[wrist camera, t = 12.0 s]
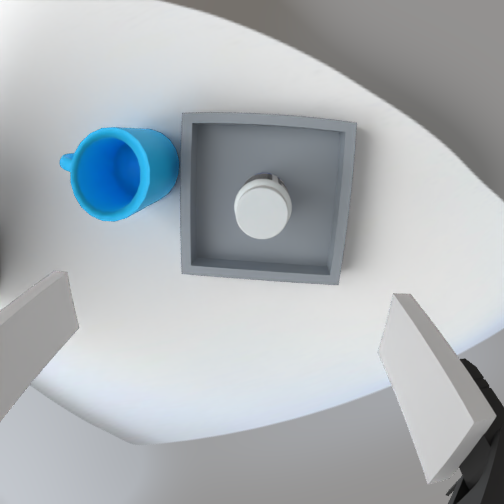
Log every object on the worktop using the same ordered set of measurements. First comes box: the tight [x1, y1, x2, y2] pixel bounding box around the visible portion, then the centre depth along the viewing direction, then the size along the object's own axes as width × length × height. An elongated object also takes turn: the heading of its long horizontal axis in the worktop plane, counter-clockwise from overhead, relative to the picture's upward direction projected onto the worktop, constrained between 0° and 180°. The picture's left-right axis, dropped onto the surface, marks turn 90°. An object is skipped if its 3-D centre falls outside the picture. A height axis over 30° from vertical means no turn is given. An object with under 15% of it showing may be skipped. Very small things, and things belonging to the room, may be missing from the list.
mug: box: [60, 127, 179, 222], centre depth 28 cm, size 12×8×8 cm
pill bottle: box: [234, 173, 292, 239], centre depth 28 cm, size 5×5×8 cm
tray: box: [180, 112, 357, 285], centre depth 31 cm, size 16×16×3 cm
